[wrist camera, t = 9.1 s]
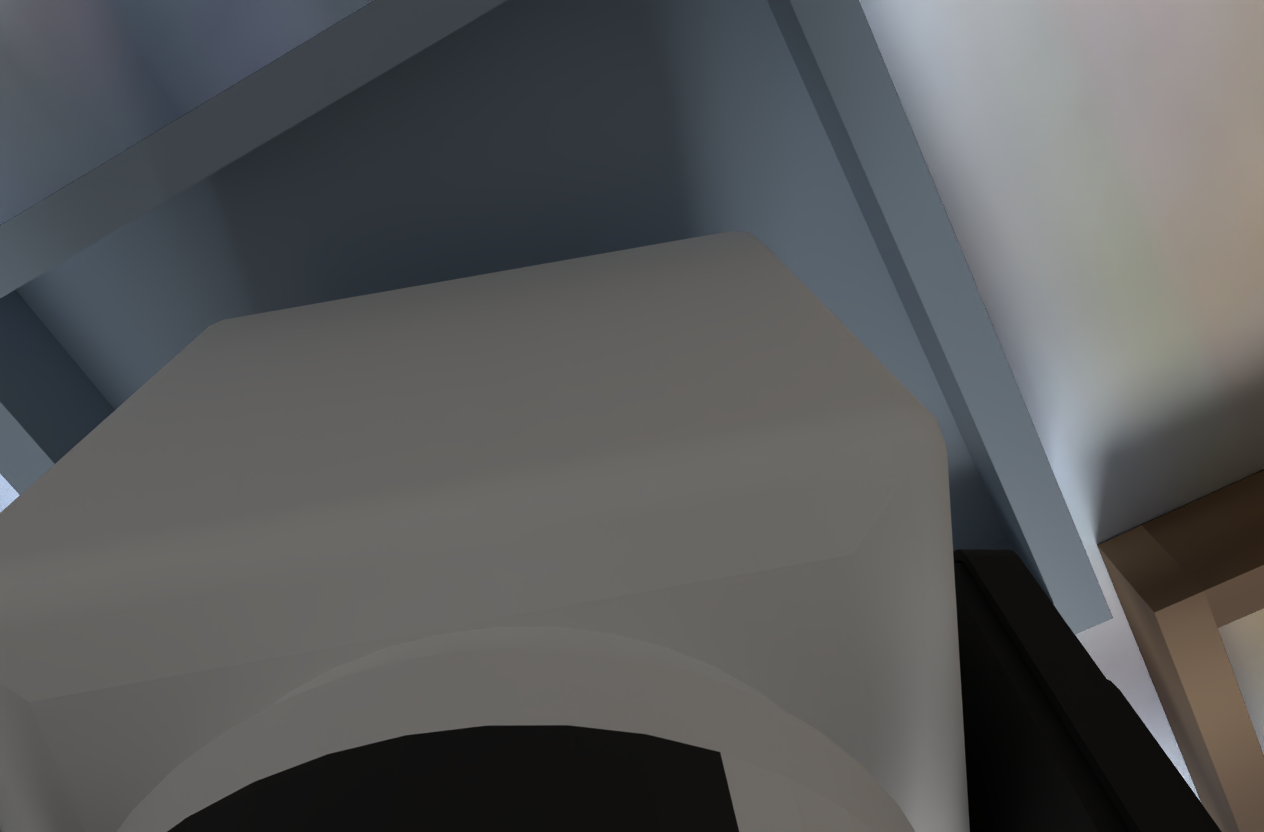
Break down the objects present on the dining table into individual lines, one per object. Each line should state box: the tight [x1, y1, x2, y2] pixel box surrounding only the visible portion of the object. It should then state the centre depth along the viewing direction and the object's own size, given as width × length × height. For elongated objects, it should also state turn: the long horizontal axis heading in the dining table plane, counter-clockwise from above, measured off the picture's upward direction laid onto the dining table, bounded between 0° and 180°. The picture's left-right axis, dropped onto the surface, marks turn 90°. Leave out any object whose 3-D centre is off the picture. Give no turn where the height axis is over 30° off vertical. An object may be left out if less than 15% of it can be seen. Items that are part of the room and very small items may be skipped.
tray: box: [0, 0, 1113, 634], centre depth 16 cm, size 12×12×2 cm
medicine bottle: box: [0, 231, 970, 832], centre depth 9 cm, size 7×7×12 cm
